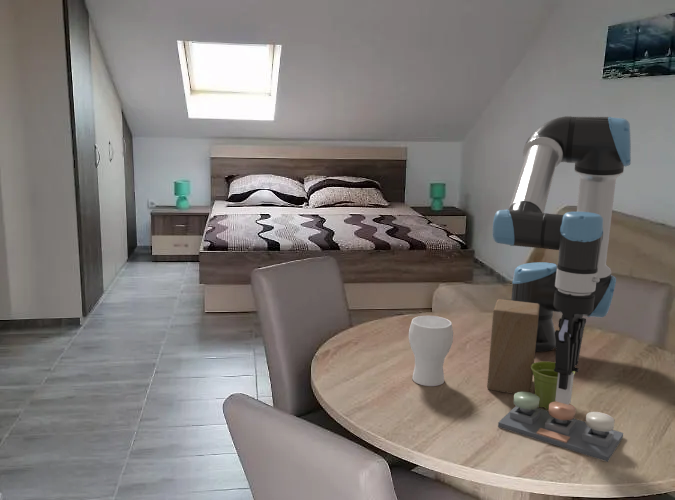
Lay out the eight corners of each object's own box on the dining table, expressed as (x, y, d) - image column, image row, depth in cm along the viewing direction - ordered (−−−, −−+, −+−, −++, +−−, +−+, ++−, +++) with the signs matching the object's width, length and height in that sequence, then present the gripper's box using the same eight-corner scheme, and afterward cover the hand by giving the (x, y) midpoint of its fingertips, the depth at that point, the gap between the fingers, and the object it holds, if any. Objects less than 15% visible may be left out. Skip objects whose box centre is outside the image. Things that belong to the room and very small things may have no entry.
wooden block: (532, 380, 158) (539, 303, 153) (530, 397, 148) (538, 315, 144) (491, 374, 161) (497, 298, 157) (486, 390, 152) (493, 309, 147)
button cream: (581, 432, 127) (583, 418, 126) (588, 422, 131) (590, 409, 130) (609, 440, 124) (610, 426, 123) (615, 430, 128) (617, 416, 127)
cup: (401, 384, 153) (404, 325, 150) (412, 368, 163) (415, 312, 160) (445, 392, 150) (449, 331, 147) (453, 375, 160) (457, 318, 156)
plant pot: (521, 396, 149) (524, 361, 147) (560, 395, 150) (564, 360, 148) (537, 414, 140) (540, 377, 138) (578, 413, 141) (582, 377, 139)
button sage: (509, 410, 135) (510, 397, 135) (518, 402, 139) (519, 389, 139) (533, 418, 132) (534, 404, 132) (541, 409, 136) (543, 396, 136)
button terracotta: (544, 421, 131) (545, 407, 130) (552, 412, 135) (553, 399, 134) (569, 429, 128) (571, 415, 127) (577, 419, 132) (579, 406, 132)
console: (497, 426, 134) (498, 416, 133) (518, 406, 143) (519, 397, 143) (607, 461, 121) (609, 450, 121) (622, 437, 131) (624, 427, 130)
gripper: (585, 301, 118) (572, 418, 123) (603, 287, 129) (590, 396, 134) (545, 294, 123) (533, 407, 128) (565, 281, 133) (554, 386, 138)
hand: (562, 401), depth 131 cm, fingers closed
